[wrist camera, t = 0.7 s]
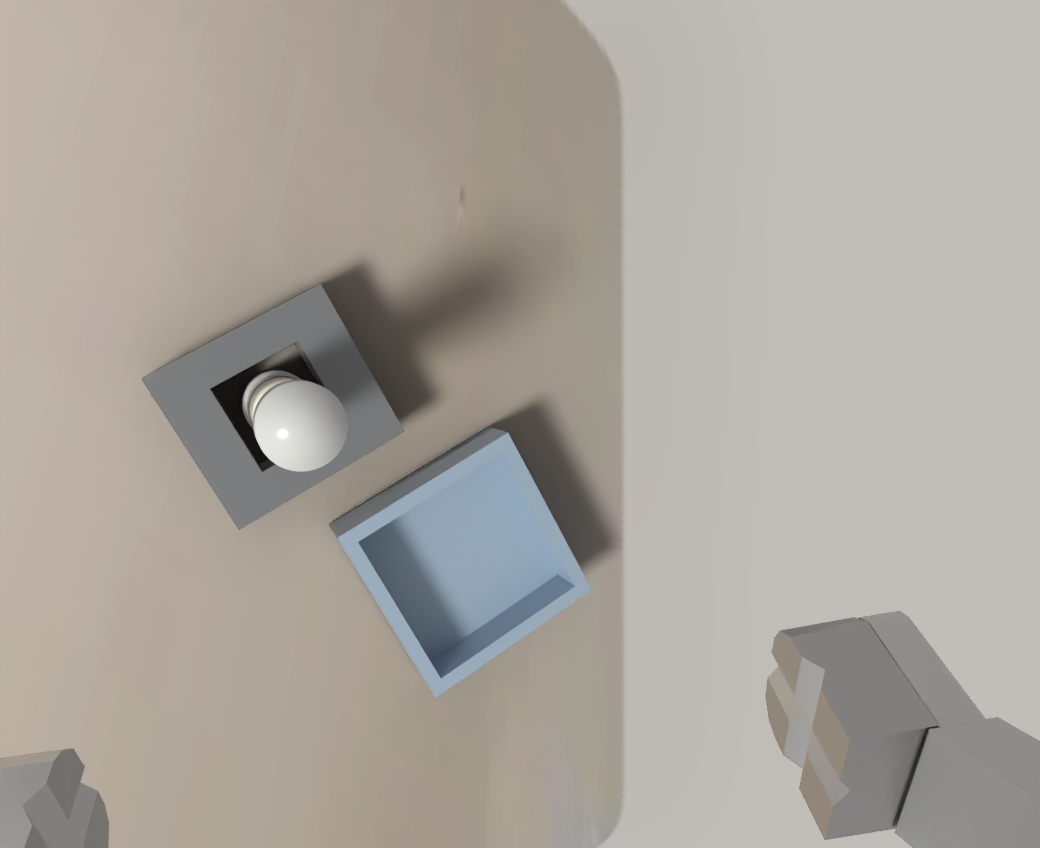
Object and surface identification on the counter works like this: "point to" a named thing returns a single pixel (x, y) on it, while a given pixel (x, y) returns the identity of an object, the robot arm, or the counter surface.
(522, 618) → the parts tray
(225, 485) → the block
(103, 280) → the counter surface
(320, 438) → the fuse
